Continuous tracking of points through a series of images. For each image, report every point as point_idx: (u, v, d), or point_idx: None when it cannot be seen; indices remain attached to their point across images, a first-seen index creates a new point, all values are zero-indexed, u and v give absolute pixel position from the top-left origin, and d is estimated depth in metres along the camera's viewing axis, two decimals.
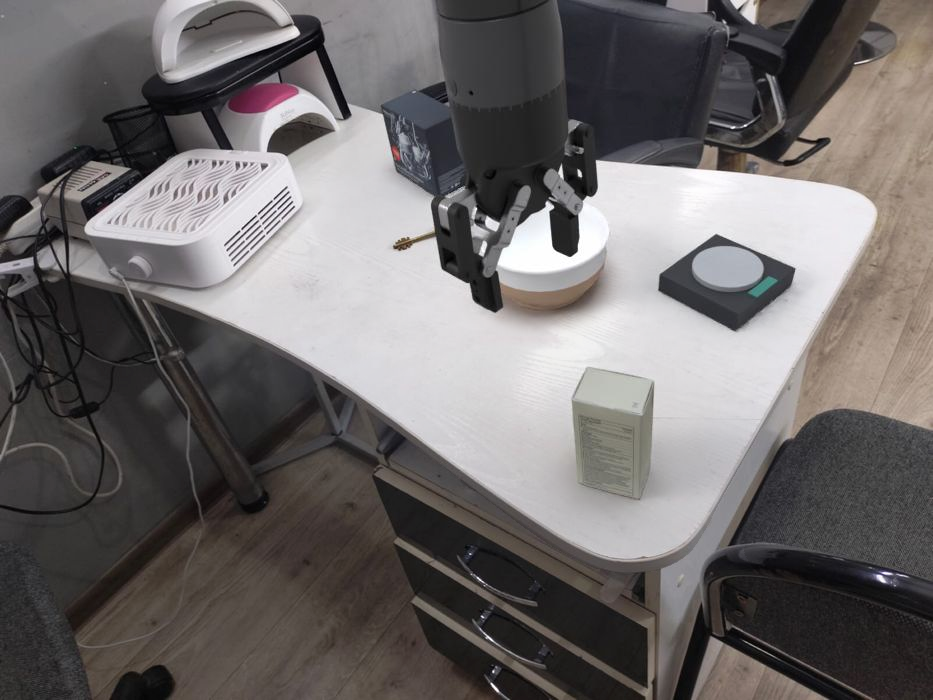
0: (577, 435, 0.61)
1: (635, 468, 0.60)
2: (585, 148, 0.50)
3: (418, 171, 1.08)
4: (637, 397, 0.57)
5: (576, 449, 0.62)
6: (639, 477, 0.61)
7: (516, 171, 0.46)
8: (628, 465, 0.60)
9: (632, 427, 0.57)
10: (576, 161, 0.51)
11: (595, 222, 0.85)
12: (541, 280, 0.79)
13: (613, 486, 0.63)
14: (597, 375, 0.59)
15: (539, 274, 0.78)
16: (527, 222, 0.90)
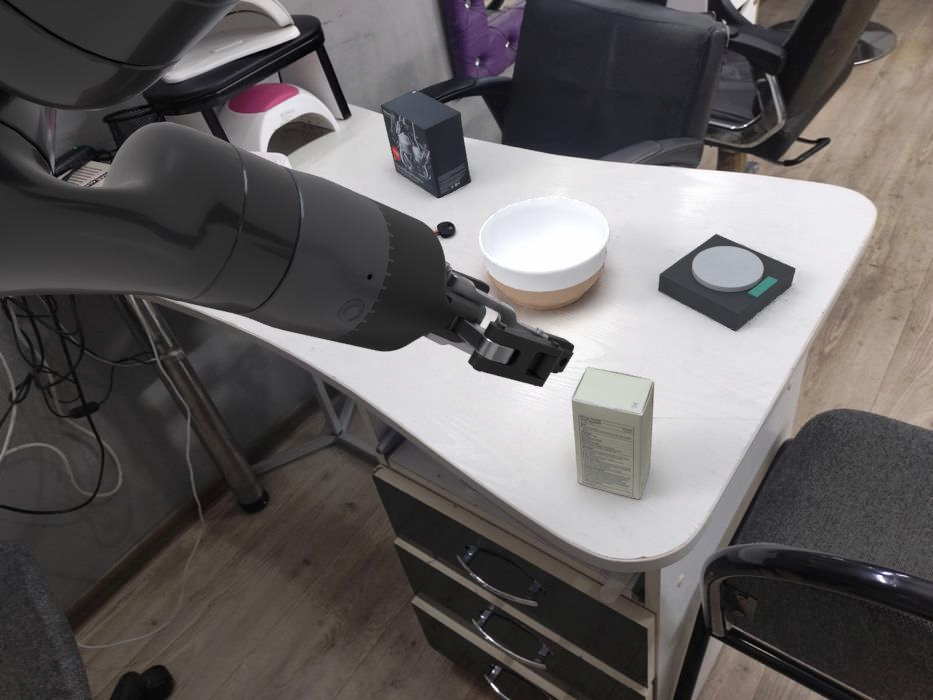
0: (577, 435, 0.61)
1: (635, 468, 0.60)
2: None
3: (417, 171, 1.08)
4: (637, 397, 0.57)
5: (576, 449, 0.62)
6: (639, 477, 0.61)
7: None
8: (628, 465, 0.60)
9: (632, 427, 0.57)
10: None
11: (595, 222, 0.85)
12: (541, 280, 0.79)
13: (613, 486, 0.63)
14: (597, 375, 0.59)
15: (539, 274, 0.77)
16: (527, 222, 0.90)
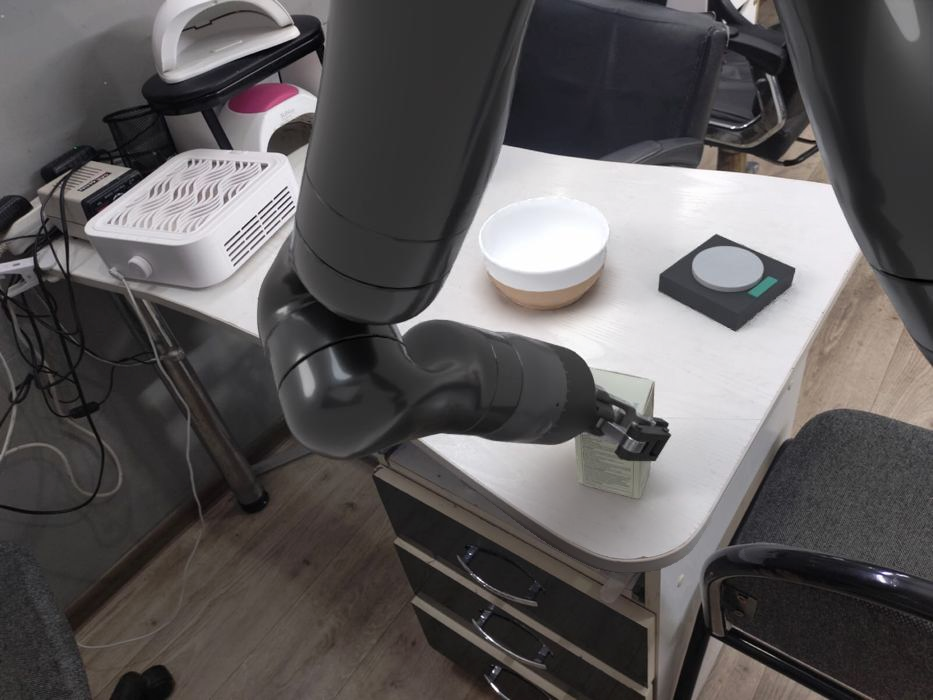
0: None
1: (635, 468, 0.60)
2: None
3: None
4: (637, 397, 0.57)
5: (576, 449, 0.62)
6: (639, 477, 0.61)
7: None
8: (628, 465, 0.60)
9: None
10: None
11: (595, 222, 0.85)
12: (541, 280, 0.79)
13: (613, 486, 0.63)
14: (597, 375, 0.59)
15: (539, 274, 0.77)
16: (527, 222, 0.90)
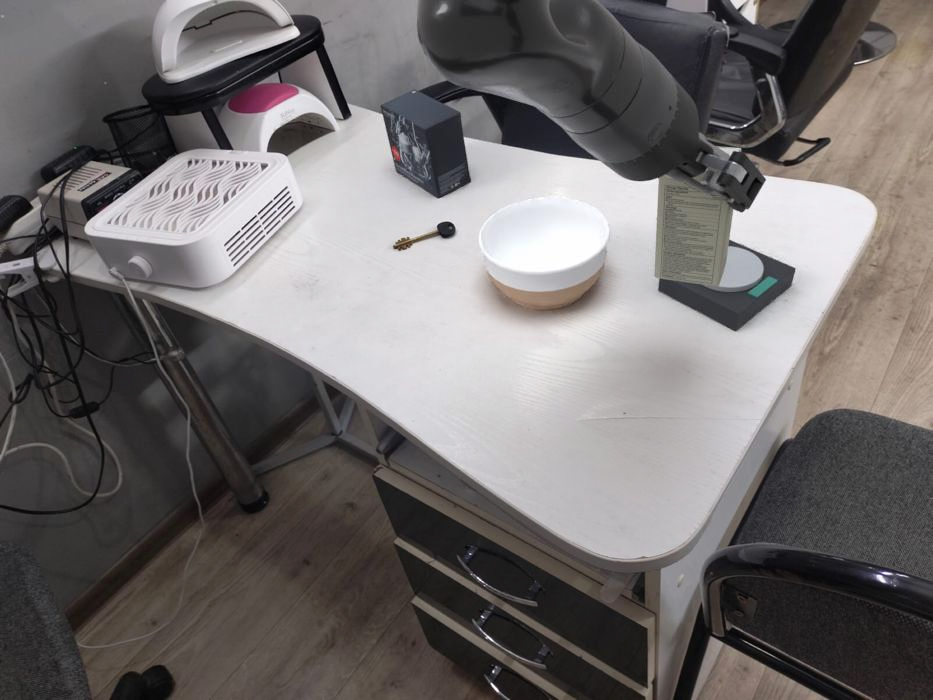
0: (660, 213, 0.61)
1: (718, 244, 0.61)
2: None
3: (417, 171, 1.08)
4: None
5: (657, 233, 0.63)
6: (721, 256, 0.62)
7: None
8: (711, 242, 0.61)
9: None
10: None
11: (595, 222, 0.85)
12: (541, 280, 0.79)
13: (692, 274, 0.64)
14: None
15: (539, 274, 0.77)
16: (527, 222, 0.90)
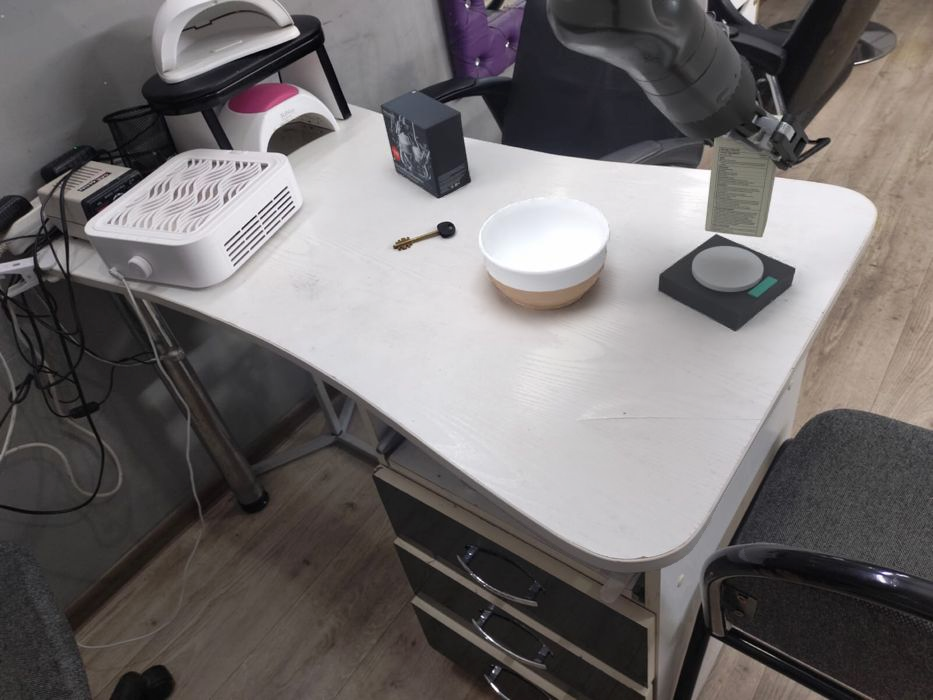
0: (714, 172, 0.71)
1: (764, 199, 0.71)
2: None
3: (417, 171, 1.08)
4: None
5: (710, 190, 0.73)
6: (765, 210, 0.72)
7: None
8: (757, 197, 0.71)
9: None
10: None
11: (595, 222, 0.85)
12: (541, 280, 0.79)
13: (739, 227, 0.74)
14: None
15: (539, 274, 0.78)
16: (527, 222, 0.90)
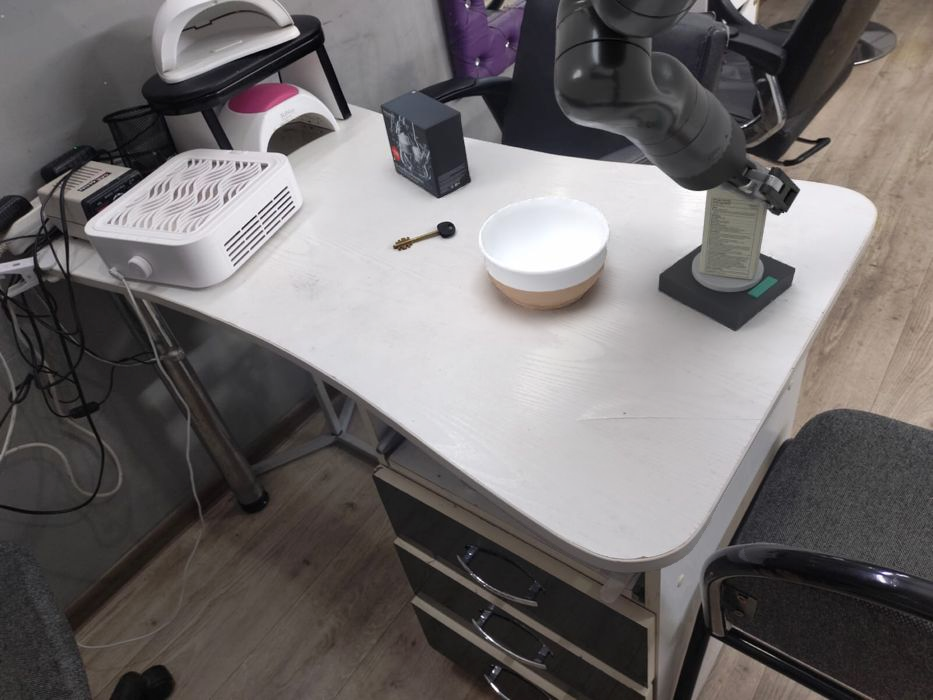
0: (707, 220, 0.75)
1: (754, 245, 0.75)
2: None
3: (417, 171, 1.08)
4: None
5: (703, 236, 0.77)
6: (756, 255, 0.76)
7: None
8: (748, 244, 0.75)
9: (758, 202, 0.71)
10: None
11: (595, 222, 0.85)
12: (541, 280, 0.79)
13: (731, 269, 0.78)
14: None
15: (539, 274, 0.78)
16: (527, 222, 0.90)
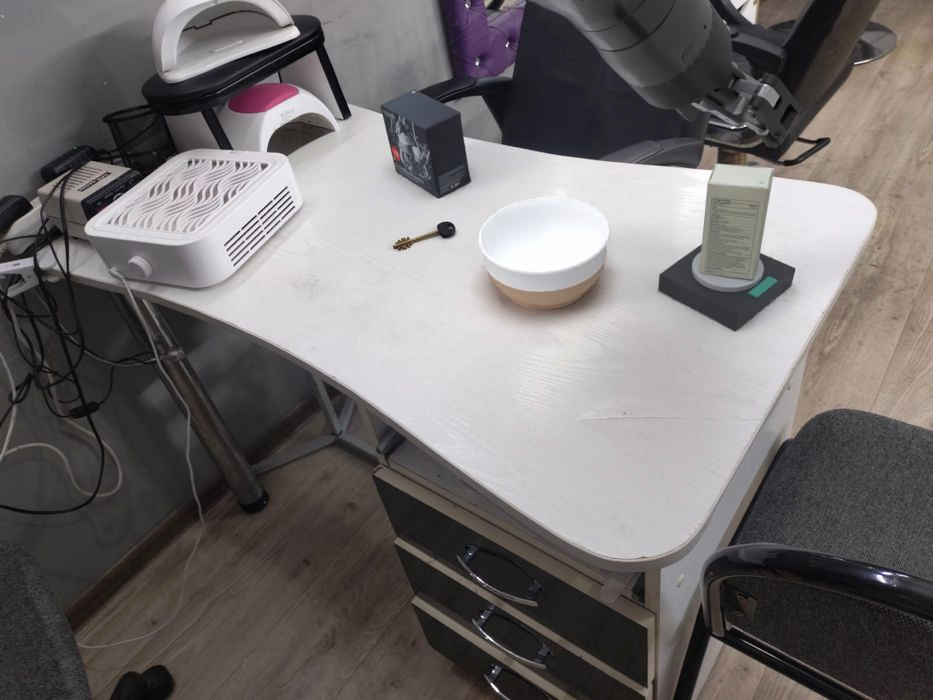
0: (707, 220, 0.75)
1: (754, 245, 0.75)
2: None
3: (417, 171, 1.08)
4: (762, 178, 0.71)
5: (703, 236, 0.77)
6: (756, 255, 0.76)
7: None
8: (748, 244, 0.75)
9: (758, 202, 0.71)
10: None
11: (595, 222, 0.85)
12: (541, 280, 0.79)
13: (731, 269, 0.78)
14: (726, 168, 0.74)
15: (539, 274, 0.78)
16: (527, 222, 0.90)
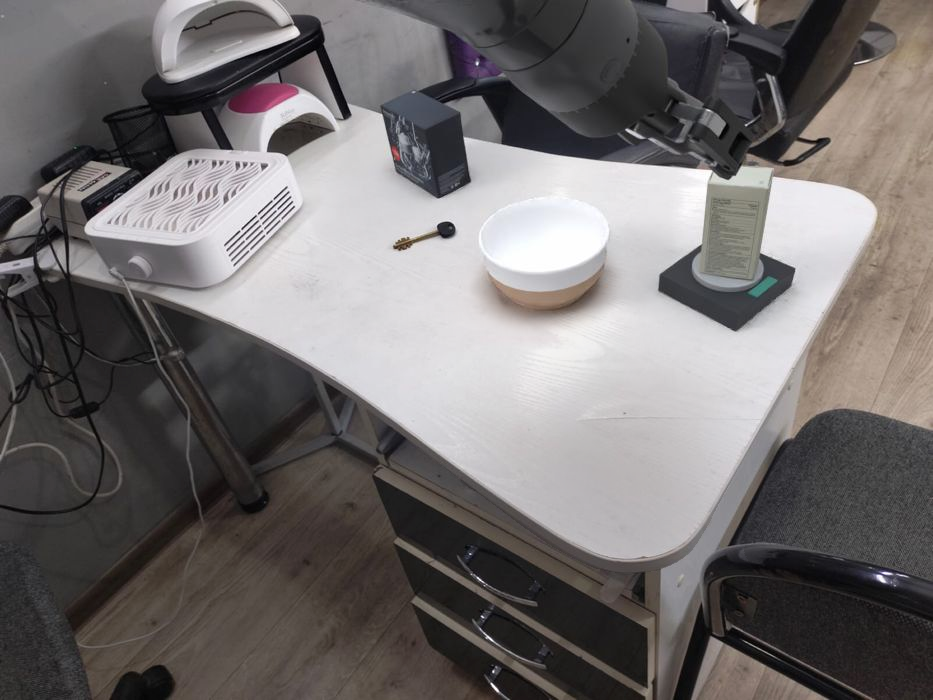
0: (707, 220, 0.75)
1: (754, 245, 0.75)
2: None
3: (417, 171, 1.08)
4: (762, 178, 0.71)
5: (703, 236, 0.77)
6: (756, 255, 0.76)
7: None
8: (748, 244, 0.75)
9: (758, 202, 0.71)
10: None
11: (595, 222, 0.85)
12: (541, 280, 0.79)
13: (731, 269, 0.78)
14: None
15: (539, 274, 0.78)
16: (527, 222, 0.90)
